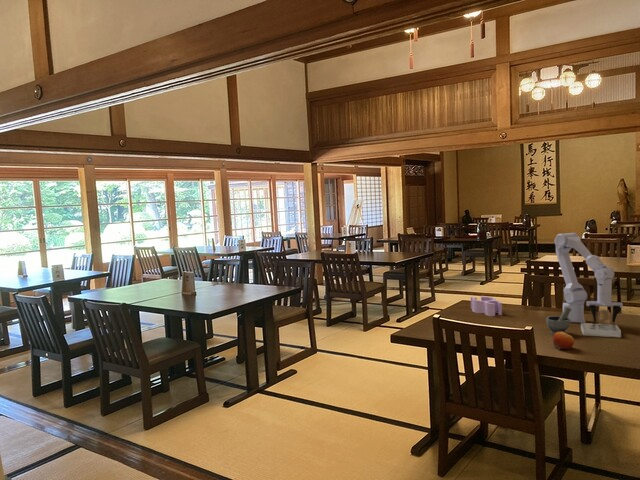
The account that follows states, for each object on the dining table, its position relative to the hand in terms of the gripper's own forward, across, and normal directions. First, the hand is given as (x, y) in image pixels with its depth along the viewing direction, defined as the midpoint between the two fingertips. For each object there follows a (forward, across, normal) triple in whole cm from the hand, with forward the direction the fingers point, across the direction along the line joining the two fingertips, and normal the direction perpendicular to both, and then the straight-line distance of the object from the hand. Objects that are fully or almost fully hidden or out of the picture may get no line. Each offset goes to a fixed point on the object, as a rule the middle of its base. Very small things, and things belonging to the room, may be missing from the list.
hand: (604, 321), depth 231 cm
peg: (+3, 0, 0) cm, 3 cm away
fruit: (+3, -20, -38) cm, 43 cm away
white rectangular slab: (+3, -3, -10) cm, 11 cm away
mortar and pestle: (+3, -20, -14) cm, 25 cm away
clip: (+3, -54, +21) cm, 58 cm away
